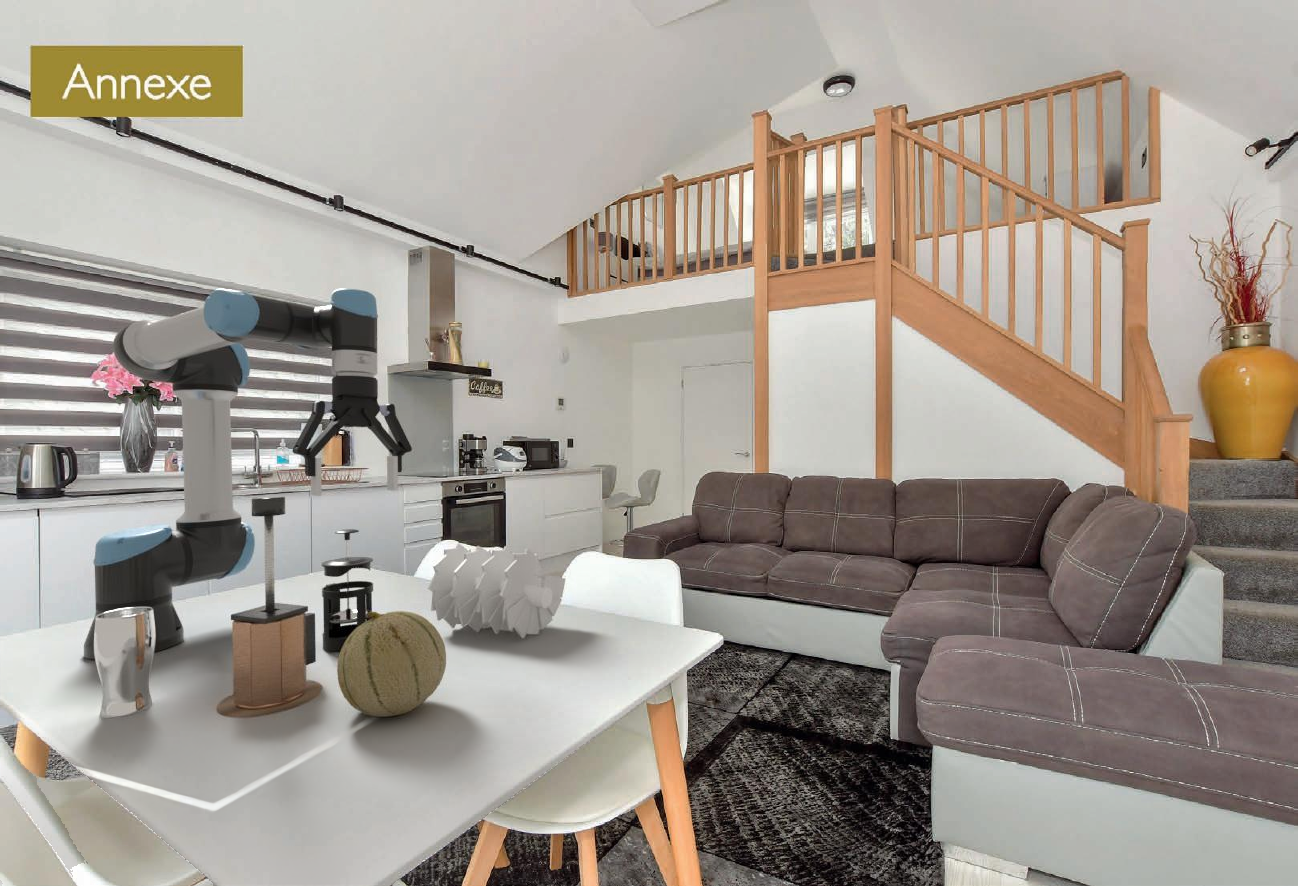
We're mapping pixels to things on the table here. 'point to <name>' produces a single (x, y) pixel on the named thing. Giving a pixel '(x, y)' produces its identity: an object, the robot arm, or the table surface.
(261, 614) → the carafe
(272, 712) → the coaster
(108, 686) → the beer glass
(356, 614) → the french press
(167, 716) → the table surface
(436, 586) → the spiral staircase
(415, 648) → the cantaloupe
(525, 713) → the table surface
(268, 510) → the plunger
